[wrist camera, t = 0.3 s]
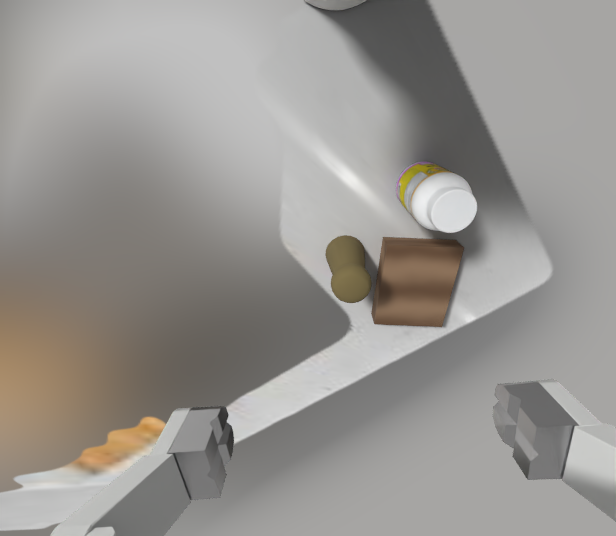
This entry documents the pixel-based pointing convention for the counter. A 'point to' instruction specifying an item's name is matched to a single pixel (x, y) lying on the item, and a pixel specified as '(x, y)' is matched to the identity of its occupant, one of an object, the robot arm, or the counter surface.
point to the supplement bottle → (436, 197)
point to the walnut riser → (415, 281)
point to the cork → (348, 269)
